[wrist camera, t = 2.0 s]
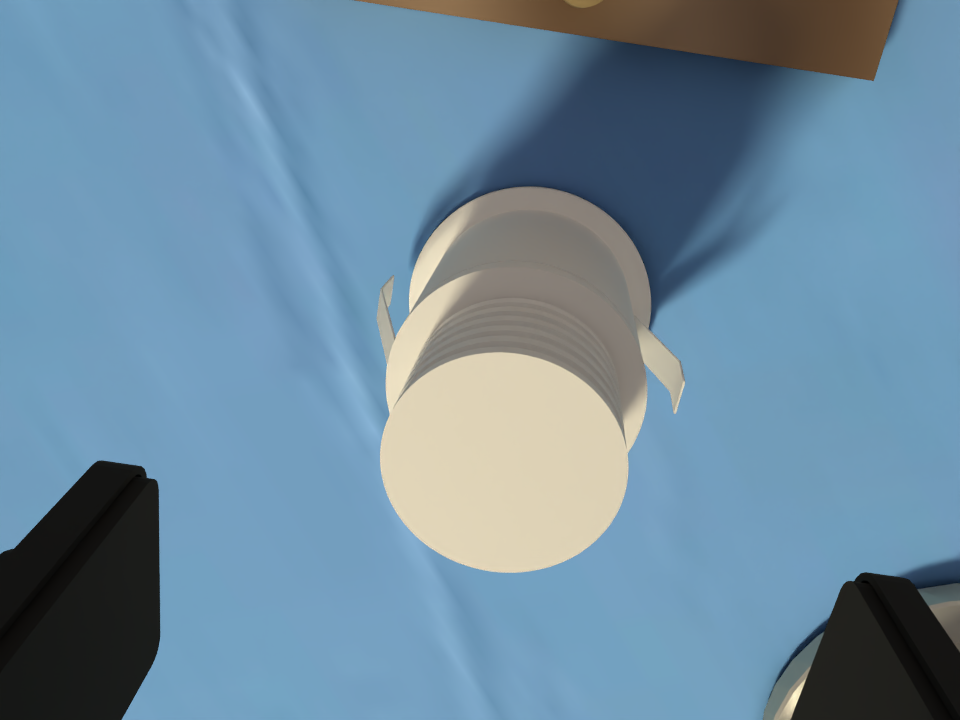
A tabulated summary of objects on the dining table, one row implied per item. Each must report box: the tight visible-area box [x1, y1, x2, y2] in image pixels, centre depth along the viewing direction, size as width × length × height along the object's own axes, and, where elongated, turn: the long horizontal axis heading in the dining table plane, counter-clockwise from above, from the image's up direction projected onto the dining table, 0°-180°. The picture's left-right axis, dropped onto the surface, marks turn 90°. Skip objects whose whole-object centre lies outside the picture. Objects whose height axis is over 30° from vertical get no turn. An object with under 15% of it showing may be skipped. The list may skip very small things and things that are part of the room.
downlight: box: [377, 186, 685, 573], centre depth 20 cm, size 8×7×10 cm
